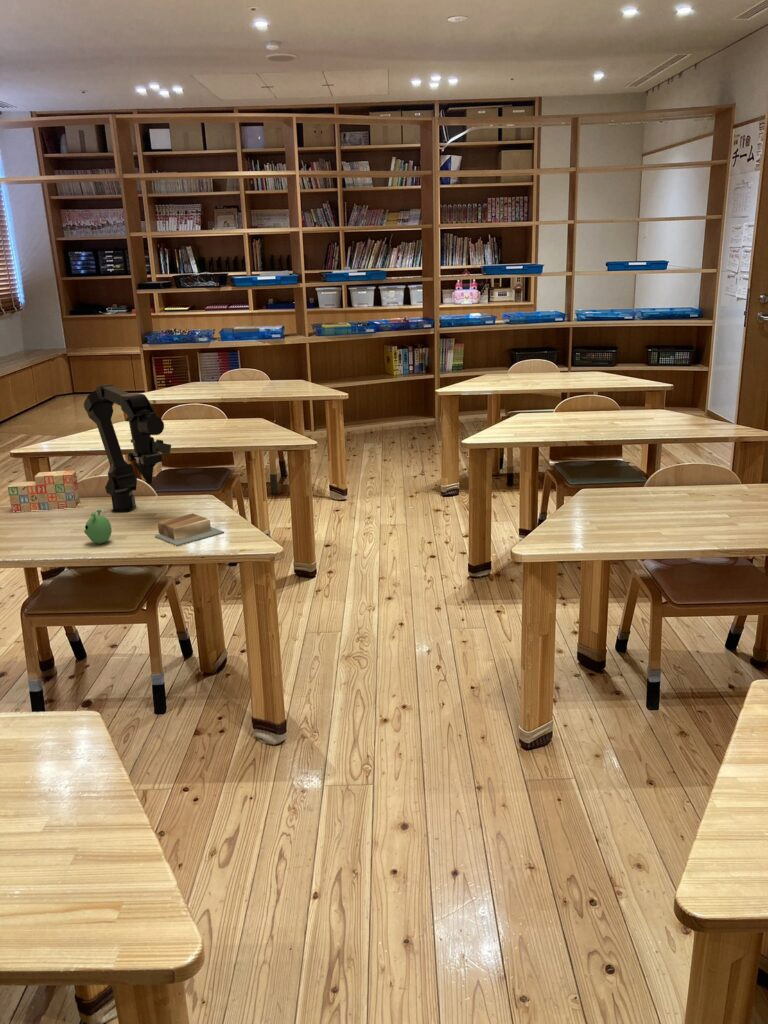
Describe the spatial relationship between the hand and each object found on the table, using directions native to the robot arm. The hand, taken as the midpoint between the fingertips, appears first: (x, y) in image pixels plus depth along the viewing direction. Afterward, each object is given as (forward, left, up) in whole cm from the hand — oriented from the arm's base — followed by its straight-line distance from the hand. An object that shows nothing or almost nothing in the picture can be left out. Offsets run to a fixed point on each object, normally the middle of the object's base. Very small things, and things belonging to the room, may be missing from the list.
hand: (149, 483), depth 256 cm
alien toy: (-9, -22, -12) cm, 27 cm away
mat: (+16, -16, -12) cm, 26 cm away
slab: (+11, -11, -10) cm, 18 cm away
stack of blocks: (-43, +16, -12) cm, 48 cm away
